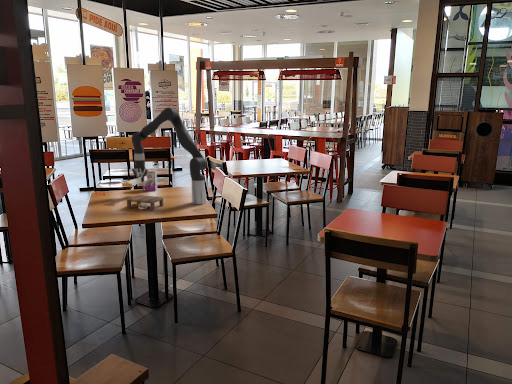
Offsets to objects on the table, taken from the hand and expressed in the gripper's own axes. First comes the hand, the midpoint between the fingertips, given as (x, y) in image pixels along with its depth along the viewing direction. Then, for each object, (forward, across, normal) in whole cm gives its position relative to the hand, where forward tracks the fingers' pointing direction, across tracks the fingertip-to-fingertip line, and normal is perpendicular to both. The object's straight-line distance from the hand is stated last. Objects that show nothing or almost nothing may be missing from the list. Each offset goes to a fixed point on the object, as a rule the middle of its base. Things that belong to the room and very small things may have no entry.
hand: (140, 181), depth 308 cm
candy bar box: (+11, +4, -19) cm, 23 cm away
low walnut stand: (+12, -20, +27) cm, 35 cm away
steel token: (+12, -20, +30) cm, 38 cm away
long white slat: (0, 0, +6) cm, 6 cm away
